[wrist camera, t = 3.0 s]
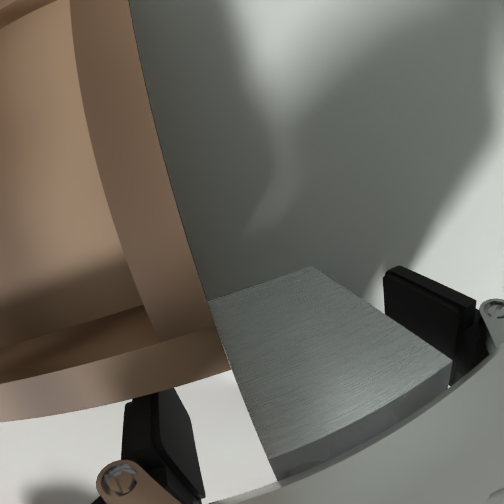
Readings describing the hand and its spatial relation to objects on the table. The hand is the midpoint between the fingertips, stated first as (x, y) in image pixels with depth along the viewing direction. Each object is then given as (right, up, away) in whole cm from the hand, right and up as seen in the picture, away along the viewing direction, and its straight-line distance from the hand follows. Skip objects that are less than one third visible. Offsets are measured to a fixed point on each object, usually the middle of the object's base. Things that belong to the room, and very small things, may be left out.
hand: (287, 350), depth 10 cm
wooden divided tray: (-14, +4, -3) cm, 15 cm away
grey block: (0, -1, +2) cm, 2 cm away
